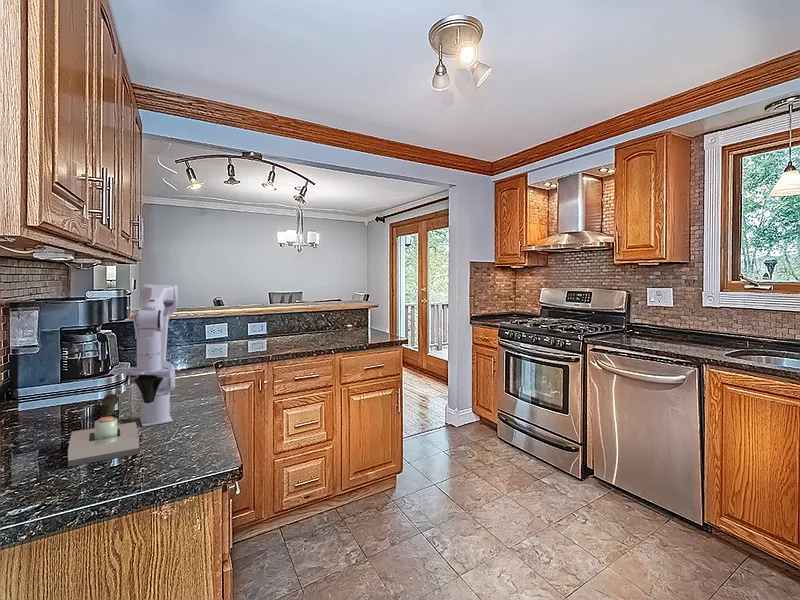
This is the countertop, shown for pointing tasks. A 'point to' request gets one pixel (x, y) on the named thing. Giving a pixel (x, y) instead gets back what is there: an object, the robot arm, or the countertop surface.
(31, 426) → the countertop surface
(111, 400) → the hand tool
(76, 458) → the beige square slab
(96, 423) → the cylinder with orange cap
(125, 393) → the countertop surface
